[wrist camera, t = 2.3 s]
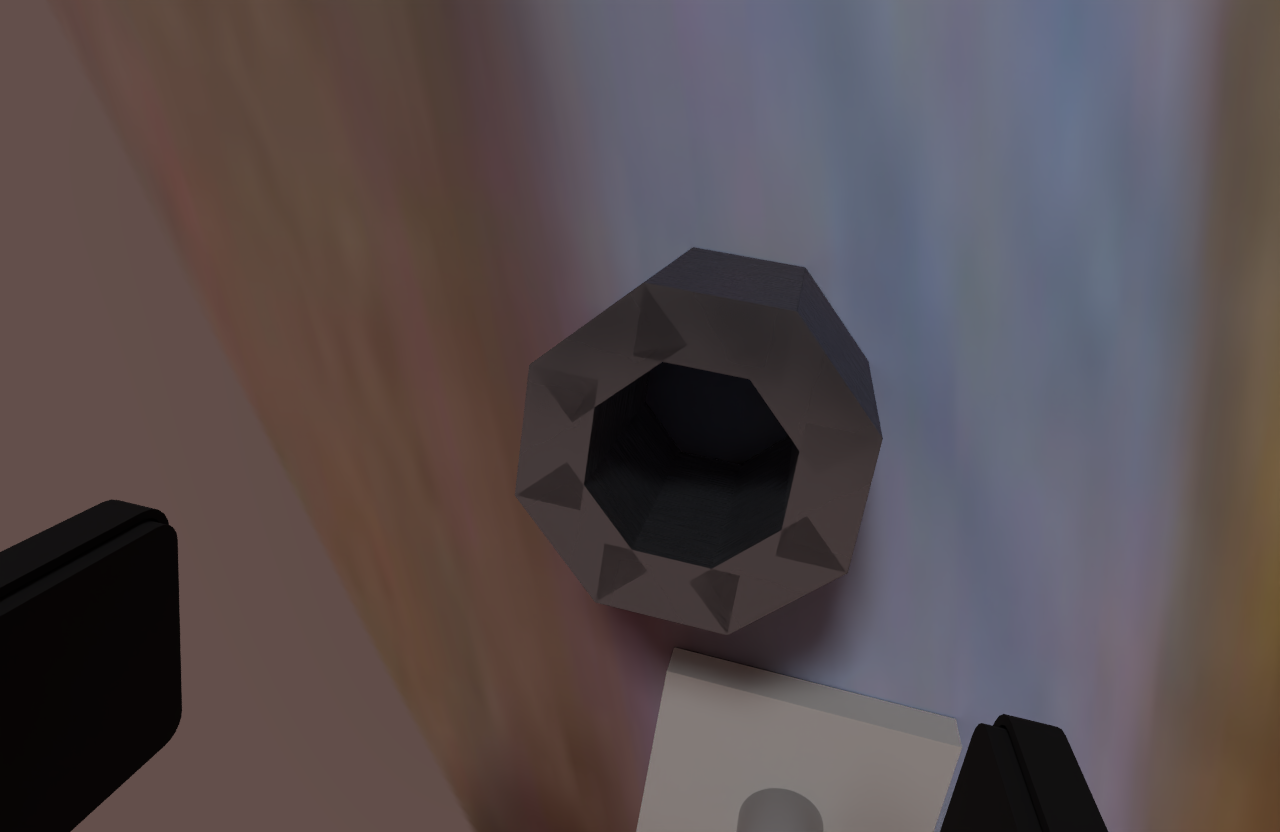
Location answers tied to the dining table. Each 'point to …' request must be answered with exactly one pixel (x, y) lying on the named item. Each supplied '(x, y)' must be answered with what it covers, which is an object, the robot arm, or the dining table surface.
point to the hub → (691, 484)
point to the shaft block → (790, 756)
